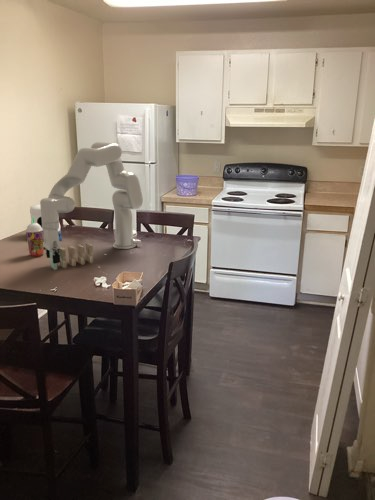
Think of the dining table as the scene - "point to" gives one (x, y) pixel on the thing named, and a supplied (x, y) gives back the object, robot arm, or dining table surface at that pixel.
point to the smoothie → (35, 239)
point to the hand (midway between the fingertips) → (53, 260)
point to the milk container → (37, 215)
